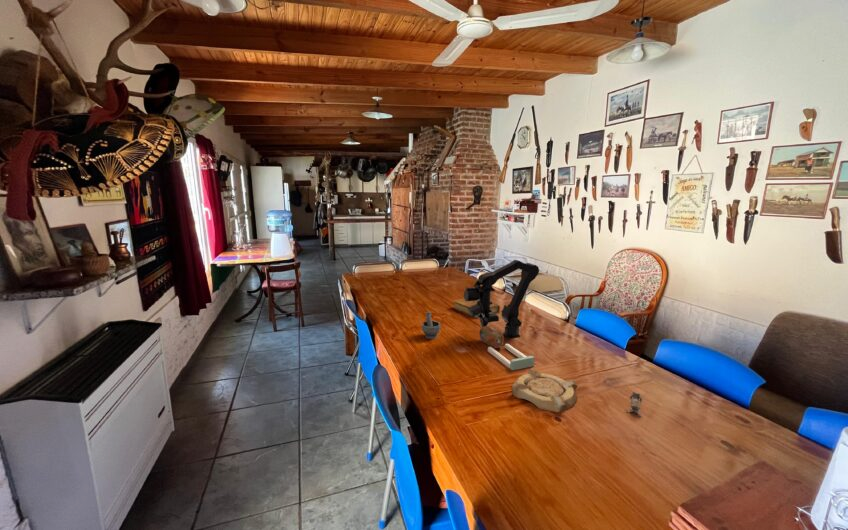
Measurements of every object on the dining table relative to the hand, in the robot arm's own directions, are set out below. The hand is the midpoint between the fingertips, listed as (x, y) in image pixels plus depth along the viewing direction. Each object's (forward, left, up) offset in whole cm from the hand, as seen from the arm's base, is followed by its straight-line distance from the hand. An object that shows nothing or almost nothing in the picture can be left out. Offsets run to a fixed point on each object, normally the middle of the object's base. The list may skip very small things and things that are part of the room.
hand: (483, 329), depth 175 cm
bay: (0, +23, -5) cm, 23 cm away
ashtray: (+4, +52, -6) cm, 52 cm away
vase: (-17, +71, -5) cm, 73 cm away
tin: (0, +8, -5) cm, 10 cm away
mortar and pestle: (+24, -12, -5) cm, 27 cm away
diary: (-18, -40, -6) cm, 45 cm away
